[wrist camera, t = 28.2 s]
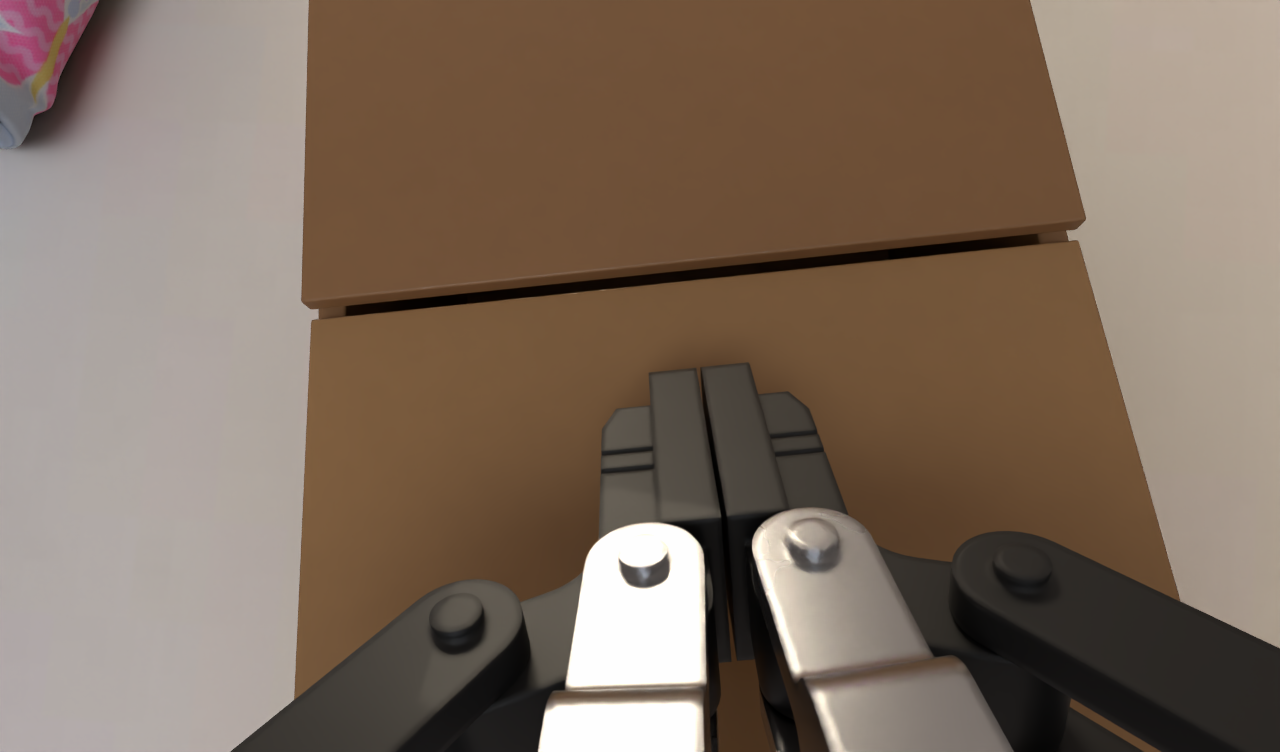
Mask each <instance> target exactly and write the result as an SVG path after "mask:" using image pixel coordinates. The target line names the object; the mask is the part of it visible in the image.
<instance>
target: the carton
mask: <svg viewBox="0 0 1280 752" xmlns="http://www.w3.org/2000/svg"><path fill="white" fill-rule="evenodd" d="M1085 219H1086V217H1085V213H1084V209H1083V205H1082V201H1081V197H1080V193H1079V189H1078V185H1077V182H1076V178H1075V174H1074V170H1073V166H1072V162H1071V158H1070V154H1069V150H1068V147H1067V143H1066V139H1065V135H1064V131H1063V127H1062V123H1061V119H1060V116H1059V112H1058V108H1057V104H1056V100H1055V96H1054V92H1053V88H1052V84H1051V81H1050V77H1049V73H1048V69H1047V65H1046V61H1045V57H1044V53H1043V49H1042V46H1041V42H1040V38H1039V34H1038V30H1037V26H1036V22H1035V18H1034V15H1033V11H1032V7H1031V3H1030V0H309V16H308V56H307V97H306V137H305V177H304V217H303V257H302V297H301V301H302V303H304V304H305V305H306V306H307V307H308V308H310V309H319V319H327V318H336V317H346V316H355V315H365V314H375V313H384V312H394V311H403V310H413V309H423V308H432V307H442V306H451V305H461V304H471V303H480V302H490V301H499V300H509V299H519V298H528V297H538V296H547V295H557V294H567V293H576V292H586V291H595V290H605V289H614V288H624V287H634V286H643V285H653V284H662V283H672V282H682V281H691V280H701V279H710V278H720V277H730V276H739V275H749V274H758V273H768V272H778V271H787V270H797V269H806V268H816V267H826V266H835V265H845V264H854V263H864V262H873V261H883V260H893V259H902V258H912V257H921V256H931V255H941V254H950V253H960V252H969V251H979V250H989V249H998V248H1008V247H1017V246H1027V245H1037V244H1046V243H1056V242H1065V241H1068V236H1067V232H1066V230H1075V229H1077V228H1078V227H1079V226H1080V225H1081V224H1082V223H1083V222H1084V221H1085Z"/></svg>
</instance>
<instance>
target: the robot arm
mask: <svg viewBox="0 0 1280 752" xmlns="http://www.w3.org/2000/svg"><path fill="white" fill-rule="evenodd" d="M648 374H649V390H650V405H648V406H638V407H628V408H618V409H616V410H615V411H614V413H613V414H612V416H611V417H610V418H609V420H608V421H607V423H606V424H605V425H604V427H603V428H602V437H601V474H600V507H599V541H598V542H597V543H596V544H595V545H594V546H593V547H592V549H591V550H590V552H589V553H588V555H587V557H586V561H585V565H584V571H583V572H582V573H581V574H579V575H578V576H577V577H576V578H574V579H573V580H572V581H570V582H569V583H567V584H565V585H563V586H561V587H559V588H557V589H555V590H552V591H550V592H547V593H545V594H542V595H539V596H536V597H533V598H530V599H527V600H524V601H521V602H520V600H519V599H518V597H517V595H516V594H515V593H514V592H513V591H512V590H511V589H509V588H508V587H506V586H505V585H503V584H500V583H498V582H495V581H490V580H483V579H470V580H462V581H456V582H453V583H449V584H446V585H444V586H441V587H439V588H436V589H434V590H433V591H431V592H429V593H427V594H426V595H424V596H423V597H421V598H420V599H419V600H417V601H416V602H415V603H414V604H412V605H411V606H410V607H409V608H407V609H406V610H405V611H404V612H402V613H401V614H400V615H399V616H397V617H396V618H395V619H394V620H392V621H391V622H390V623H389V624H388V625H386V626H385V627H384V628H383V629H381V630H380V631H379V632H378V633H376V634H375V635H374V636H373V637H371V638H370V639H369V640H368V641H367V642H365V643H364V644H363V645H362V646H360V647H359V648H358V649H357V650H355V651H354V652H353V653H352V654H350V655H349V656H348V657H347V658H346V659H344V660H343V661H342V662H341V663H339V664H338V665H337V666H336V667H334V668H333V669H332V670H331V671H329V672H328V673H327V674H326V675H325V676H323V677H322V678H321V679H320V680H318V681H317V682H316V683H315V684H313V685H312V686H311V687H310V688H308V689H307V690H306V691H305V692H304V693H302V694H301V695H300V696H299V697H297V698H296V699H295V700H294V701H292V702H291V703H290V704H289V705H287V706H286V707H285V708H284V709H283V710H281V711H280V712H279V713H278V714H276V715H275V716H274V717H273V718H271V719H270V720H269V721H268V722H266V723H265V724H264V725H263V726H262V727H260V728H259V729H258V730H257V731H255V732H254V733H253V734H252V735H250V736H249V737H248V738H247V739H245V740H244V741H243V742H242V743H241V744H239V745H238V746H237V747H236V748H234V749H233V750H232V751H231V752H719V728H718V712H717V707H718V705H719V702H720V697H721V683H720V671H719V663H724V662H732V660H731V646H730V632H729V618H728V607H729V613H730V620H731V626H732V632H733V639H734V645H735V652H736V658H737V661H742V660H753V659H755V663H756V669H757V674H758V680H759V697H760V712H761V718H762V721H763V725H764V729H765V733H766V736H767V740H768V744H769V748H770V751H771V752H1144V751H1142V750H1140V749H1139V748H1137V747H1135V746H1134V745H1132V744H1131V743H1129V742H1127V741H1126V740H1124V739H1122V738H1121V737H1119V736H1117V735H1116V734H1114V733H1112V732H1111V731H1109V730H1107V729H1106V728H1104V727H1102V726H1101V725H1099V724H1097V723H1096V722H1094V721H1092V720H1091V719H1089V718H1087V717H1086V716H1084V715H1083V714H1081V713H1079V712H1078V711H1076V710H1074V709H1073V708H1071V707H1070V702H1071V698H1072V699H1074V700H1075V701H1077V702H1079V703H1080V704H1082V705H1084V706H1085V707H1087V708H1089V709H1090V710H1092V711H1094V712H1095V713H1097V714H1099V715H1100V716H1102V717H1104V718H1105V719H1107V720H1109V721H1111V722H1112V723H1114V724H1116V725H1117V726H1119V727H1121V728H1122V729H1124V730H1126V731H1127V732H1129V733H1131V734H1132V735H1134V736H1136V737H1137V738H1139V739H1141V740H1142V741H1144V742H1146V743H1147V744H1149V745H1151V746H1152V747H1154V748H1156V749H1157V750H1159V751H1161V752H1280V648H1277V647H1275V646H1273V645H1271V644H1269V643H1267V642H1265V641H1263V640H1261V639H1258V638H1256V637H1254V636H1252V635H1250V634H1248V633H1246V632H1244V631H1242V630H1239V629H1237V628H1235V627H1233V626H1231V625H1229V624H1227V623H1225V622H1222V621H1220V620H1218V619H1216V618H1214V617H1212V616H1210V615H1208V614H1206V613H1203V612H1201V611H1199V610H1197V609H1195V608H1193V607H1191V606H1189V605H1187V604H1184V603H1182V602H1180V601H1178V600H1176V599H1174V598H1172V597H1170V596H1168V595H1165V594H1163V593H1161V592H1159V591H1157V590H1155V589H1153V588H1151V587H1149V586H1146V585H1144V584H1142V583H1140V582H1138V581H1136V580H1134V579H1132V578H1130V577H1127V576H1125V575H1123V574H1121V573H1119V572H1117V571H1115V570H1113V569H1111V568H1108V567H1106V566H1104V565H1102V564H1100V563H1098V562H1096V561H1094V560H1092V559H1089V558H1087V557H1085V556H1083V555H1081V554H1079V553H1077V552H1075V551H1073V550H1070V549H1068V548H1066V547H1064V546H1062V545H1060V544H1058V543H1056V542H1053V541H1051V540H1048V539H1046V538H1043V537H1040V536H1037V535H1033V534H1029V533H1023V532H1015V531H995V532H987V533H984V534H980V535H977V536H975V537H972V538H970V539H968V540H967V541H965V542H964V543H962V544H961V546H960V547H959V548H958V549H957V550H956V552H955V554H954V555H953V560H952V562H947V561H940V560H932V559H925V558H917V557H912V556H906V555H902V554H899V553H895V552H892V551H890V550H887V549H885V548H882V547H880V546H879V545H877V544H875V542H874V540H873V538H872V536H871V535H870V533H869V532H868V530H867V529H866V528H865V527H864V526H863V525H862V524H861V523H860V522H858V521H857V520H855V519H854V518H852V517H850V516H849V515H848V512H847V509H846V506H845V504H844V501H843V498H842V496H841V493H840V490H839V487H838V485H837V482H836V479H835V477H834V474H833V471H832V468H831V466H830V463H829V460H828V458H827V455H826V452H824V447H823V444H822V441H821V439H820V436H819V434H818V433H817V428H816V425H815V422H814V420H813V417H812V414H811V412H810V409H809V408H808V407H807V406H806V405H804V404H803V403H802V402H801V401H800V400H798V399H797V398H796V397H795V396H793V395H792V394H791V393H790V392H789V391H785V392H775V393H765V394H758V392H757V388H756V385H755V381H754V378H753V374H752V370H751V367H750V364H749V362H745V363H735V364H726V365H716V366H706V367H700V375H701V389H702V398H701V392H700V386H699V380H698V374H697V369H696V368H688V369H678V370H668V371H658V372H649V373H648ZM702 401H703V404H702ZM727 600H728V604H727Z"/></svg>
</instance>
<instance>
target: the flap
mask: <svg viewBox="0 0 1280 752" xmlns="http://www.w3.org/2000/svg"><path fill="white" fill-rule="evenodd" d="M745 362H749V364H750V367H751V370H752V374H753V378H754V381H755V385H756V388H757V392H758V394H765V393H775V392H785V391H789V392H790V393H791V394H792V395H793V396H795V397H796V398H797V399H798V400H800V401H801V402H802V403H803V404H804V405H806V406H807V407H808V408H809V409H810V412H811V414H812V417H813V420H814V422H815V425H816V428H817V433H818V434H819V436H820V439H821V441H822V444H823V447H824V452H826V455H827V458H828V460H829V463H830V466H831V468H832V471H833V474H834V477H835V479H836V482H837V485H838V487H839V490H840V493H841V496H842V498H843V501H844V504H845V506H846V509H847V512H848V515H849V516H850V517H852V518H854V519H855V520H857V521H858V522H860V523H861V524H862V525H863V526H864V527H865V528H866V529H867V530H868V532H869V533H870V535H871V536H872V538H873V540H874V542H875V544H877V545H879V546H880V547H882V548H885V549H887V550H890V551H892V552H895V553H899V554H902V555H906V556H912V557H917V558H925V559H932V560H940V561H947V562H952V560H953V555H954V554H955V552H956V550H957V549H958V548H959V547H960V546H961V544H962V543H964V542H965V541H967V540H968V539H970V538H972V537H975V536H977V535H980V534H984V533H987V532H995V531H1015V532H1023V533H1029V534H1033V535H1037V536H1040V537H1043V538H1046V539H1048V540H1051V541H1053V542H1056V543H1058V544H1060V545H1062V546H1064V547H1066V548H1068V549H1070V550H1073V551H1075V552H1077V553H1079V554H1081V555H1083V556H1085V557H1087V558H1089V559H1092V560H1094V561H1096V562H1098V563H1100V564H1102V565H1104V566H1106V567H1108V568H1111V569H1113V570H1115V571H1117V572H1119V573H1121V574H1123V575H1125V576H1127V577H1130V578H1132V579H1134V580H1136V581H1138V582H1140V583H1142V584H1144V585H1146V586H1149V587H1151V588H1153V589H1155V590H1157V591H1159V592H1161V593H1163V594H1165V595H1168V596H1170V597H1172V598H1174V599H1176V600H1178V601H1180V598H1179V594H1178V591H1177V587H1176V584H1175V580H1174V577H1173V573H1172V570H1171V566H1170V563H1169V559H1168V556H1167V552H1166V549H1165V545H1164V541H1163V538H1162V534H1161V531H1160V527H1159V524H1158V520H1157V517H1156V513H1155V510H1154V506H1153V503H1152V499H1151V496H1150V492H1149V489H1148V485H1147V481H1146V478H1145V474H1144V471H1143V467H1142V464H1141V460H1140V457H1139V453H1138V450H1137V446H1136V443H1135V439H1134V436H1133V432H1132V428H1131V425H1130V421H1129V418H1128V414H1127V411H1126V407H1125V404H1124V400H1123V397H1122V393H1121V390H1120V386H1119V383H1118V379H1117V376H1116V372H1115V368H1114V365H1113V361H1112V358H1111V354H1110V351H1109V347H1108V344H1107V340H1106V337H1105V333H1104V330H1103V326H1102V323H1101V319H1100V315H1099V312H1098V308H1097V305H1096V301H1095V298H1094V294H1093V291H1092V287H1091V284H1090V280H1089V277H1088V273H1087V270H1086V266H1085V263H1084V259H1083V255H1082V252H1081V248H1080V245H1079V242H1078V241H1077V240H1075V241H1065V242H1056V243H1046V244H1037V245H1027V246H1017V247H1008V248H998V249H989V250H979V251H969V252H960V253H950V254H941V255H931V256H921V257H912V258H902V259H893V260H883V261H873V262H864V263H854V264H845V265H835V266H826V267H816V268H806V269H797V270H787V271H778V272H768V273H758V274H749V275H739V276H730V277H720V278H710V279H701V280H691V281H682V282H672V283H662V284H653V285H643V286H634V287H624V288H614V289H605V290H595V291H586V292H576V293H567V294H557V295H547V296H538V297H528V298H519V299H509V300H499V301H490V302H480V303H471V304H461V305H451V306H442V307H432V308H423V309H413V310H403V311H394V312H384V313H375V314H365V315H355V316H346V317H336V318H327V319H317V320H312V322H311V340H310V363H309V385H308V407H307V429H306V452H305V474H304V496H303V518H302V540H301V563H300V585H299V607H298V629H297V651H296V674H295V696H294V700H295V699H296V698H297V697H299V696H300V695H301V694H302V693H304V692H305V691H306V690H307V689H308V688H310V687H311V686H312V685H313V684H315V683H316V682H317V681H318V680H320V679H321V678H322V677H323V676H325V675H326V674H327V673H328V672H329V671H331V670H332V669H333V668H334V667H336V666H337V665H338V664H339V663H341V662H342V661H343V660H344V659H346V658H347V657H348V656H349V655H350V654H352V653H353V652H354V651H355V650H357V649H358V648H359V647H360V646H362V645H363V644H364V643H365V642H367V641H368V640H369V639H370V638H371V637H373V636H374V635H375V634H376V633H378V632H379V631H380V630H381V629H383V628H384V627H385V626H386V625H388V624H389V623H390V622H391V621H392V620H394V619H395V618H396V617H397V616H399V615H400V614H401V613H402V612H404V611H405V610H406V609H407V608H409V607H410V606H411V605H412V604H414V603H415V602H416V601H417V600H419V599H420V598H421V597H423V596H424V595H426V594H427V593H429V592H431V591H433V590H434V589H436V588H439V587H441V586H444V585H446V584H449V583H453V582H456V581H462V580H470V579H483V580H490V581H495V582H498V583H500V584H503V585H505V586H506V587H508V588H509V589H511V590H512V591H513V592H514V593H515V594H516V595H517V597H518V599H519V600H520V602H521V601H524V600H527V599H530V598H533V597H536V596H539V595H542V594H545V593H547V592H550V591H552V590H555V589H557V588H559V587H561V586H563V585H565V584H567V583H569V582H570V581H572V580H573V579H574V578H576V577H577V576H578V575H579V574H581V573H582V572H583V571H584V565H585V561H586V557H587V555H588V553H589V552H590V550H591V549H592V547H593V546H594V545H595V544H596V543H597V542H598V541H599V507H600V474H601V437H602V428H603V427H604V425H605V424H606V423H607V421H608V420H609V418H610V417H611V416H612V414H613V413H614V411H615V410H616V409H618V408H628V407H638V406H648V405H650V390H649V374H648V373H649V372H658V371H668V370H678V369H688V368H696V369H697V374H698V380H699V386H700V392H701V398H702V389H701V375H700V367H706V366H716V365H726V364H735V363H745ZM702 404H703V401H702ZM727 604H728V600H727ZM728 618H729V632H730V646H731V660H732V662H724V663H719V671H720V683H721V697H720V702H719V705H718V707H717V712H718V728H719V752H771V751H770V748H769V744H768V740H767V736H766V733H765V729H764V725H763V721H762V718H761V712H760V697H759V680H758V674H757V669H756V663H755V659H753V660H742V661H737V658H736V652H735V645H734V639H733V632H732V626H731V620H730V613H729V607H728ZM1070 707H1071V708H1073V709H1074V710H1076V711H1078V712H1079V713H1081V714H1083V715H1084V716H1086V717H1087V718H1089V719H1091V720H1092V721H1094V722H1096V723H1097V724H1099V725H1101V726H1102V727H1104V728H1106V729H1107V730H1109V731H1111V732H1112V733H1114V734H1116V735H1117V736H1119V737H1121V738H1122V739H1124V740H1126V741H1127V742H1129V743H1131V744H1132V745H1134V746H1135V747H1137V748H1139V749H1140V750H1142V751H1144V752H1161V751H1159V750H1157V749H1156V748H1154V747H1152V746H1151V745H1149V744H1147V743H1146V742H1144V741H1142V740H1141V739H1139V738H1137V737H1136V736H1134V735H1132V734H1131V733H1129V732H1127V731H1126V730H1124V729H1122V728H1121V727H1119V726H1117V725H1116V724H1114V723H1112V722H1111V721H1109V720H1107V719H1105V718H1104V717H1102V716H1100V715H1099V714H1097V713H1095V712H1094V711H1092V710H1090V709H1089V708H1087V707H1085V706H1084V705H1082V704H1080V703H1079V702H1077V701H1075V700H1074V699H1072V698H1071V702H1070Z"/></svg>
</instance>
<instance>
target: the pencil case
mask: <svg viewBox="0 0 1280 752" xmlns="http://www.w3.org/2000/svg"><path fill="white" fill-rule="evenodd" d="M98 2H99V0H0V148H4V149H13V148H17V147H18V146H20V145H21V144H22V142H23V141H24V139H25V137H26V136H27V134H28V132H29V130H30V127H31V124H32V121H33V117H34V116H35V115H37V114H39V113H42V112H44V111H46V110H48V109H50V108H51V106H52V105H53V103H54V100H55V97H56V93H57V85H58V80H59V78H60V75H61V73H62V71H63V69H64V67H65V65H66V63H67V61H68V59H69V57H70V55H71V53H72V52H73V50H74V48H75V46H76V44H77V42H78V41H79V39H80V37H81V35H82V33H83V31H84V30H85V28H86V26H87V24H88V22H89V20H90V18H91V17H92V15H93V13H94V10H95V8H96V6H97V4H98Z"/></svg>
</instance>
